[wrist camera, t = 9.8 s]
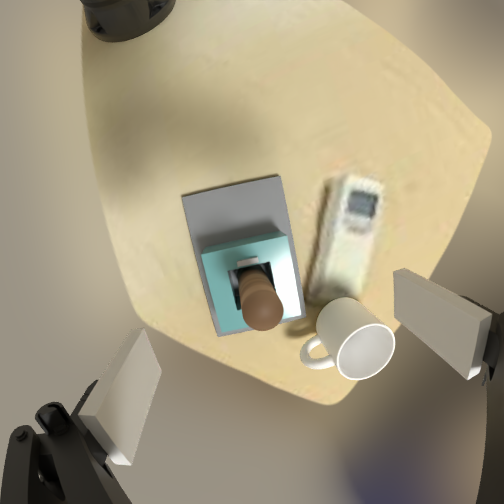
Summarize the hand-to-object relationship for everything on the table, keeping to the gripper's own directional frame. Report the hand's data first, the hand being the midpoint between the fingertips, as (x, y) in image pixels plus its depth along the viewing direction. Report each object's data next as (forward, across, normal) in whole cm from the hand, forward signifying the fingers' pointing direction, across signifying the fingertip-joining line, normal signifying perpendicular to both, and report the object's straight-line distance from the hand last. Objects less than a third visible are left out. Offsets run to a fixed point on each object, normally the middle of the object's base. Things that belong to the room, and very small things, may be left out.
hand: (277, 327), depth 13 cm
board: (+25, -1, -2) cm, 25 cm away
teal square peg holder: (+24, -1, -4) cm, 25 cm away
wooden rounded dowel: (+24, -1, -4) cm, 25 cm away
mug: (+25, +9, -16) cm, 31 cm away
